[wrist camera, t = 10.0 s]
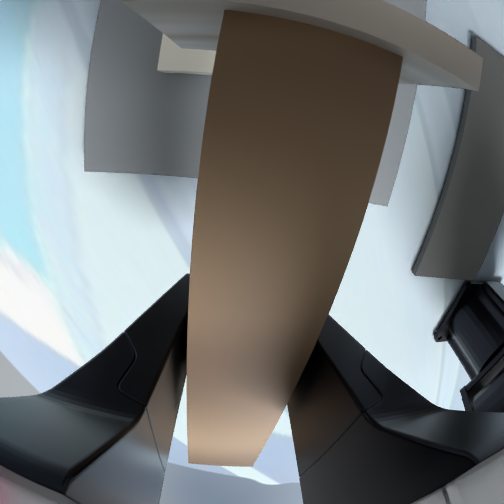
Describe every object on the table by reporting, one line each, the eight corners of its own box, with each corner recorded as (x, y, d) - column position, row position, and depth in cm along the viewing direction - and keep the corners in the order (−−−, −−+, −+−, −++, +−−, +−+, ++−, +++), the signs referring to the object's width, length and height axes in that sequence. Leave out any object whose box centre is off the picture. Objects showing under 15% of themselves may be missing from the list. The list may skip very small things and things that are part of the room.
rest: (470, 277, 19) (474, 280, 19) (411, 271, 18) (414, 275, 18) (527, 82, 11) (531, 83, 11) (471, 36, 10) (476, 36, 10)
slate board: (379, 199, 16) (387, 206, 15) (92, 166, 14) (84, 171, 13) (418, -15, 9) (427, -19, 8) (129, -64, 7) (124, -71, 6)
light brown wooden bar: (273, 390, 13) (284, 473, 9) (167, 382, 12) (156, 467, 9) (370, 64, 6) (483, 58, 3) (185, 28, 6) (131, -36, 2)
